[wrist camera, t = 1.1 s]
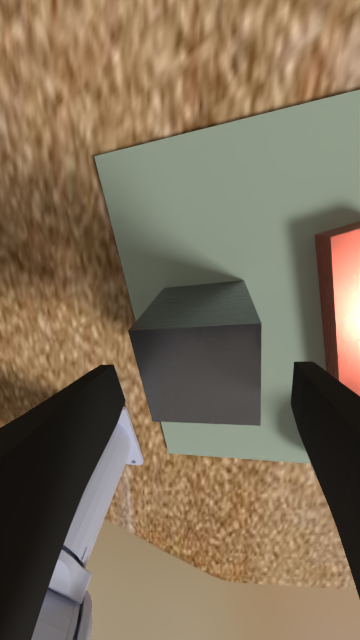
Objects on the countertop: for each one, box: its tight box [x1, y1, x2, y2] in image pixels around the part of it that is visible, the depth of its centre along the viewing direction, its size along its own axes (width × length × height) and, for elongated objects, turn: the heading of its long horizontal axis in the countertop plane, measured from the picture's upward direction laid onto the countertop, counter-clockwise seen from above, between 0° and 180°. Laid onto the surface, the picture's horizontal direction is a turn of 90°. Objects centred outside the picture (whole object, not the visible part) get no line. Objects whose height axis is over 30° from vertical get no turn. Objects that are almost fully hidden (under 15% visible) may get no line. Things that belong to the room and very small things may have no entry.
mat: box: [94, 90, 360, 463], centre depth 14 cm, size 20×24×1 cm
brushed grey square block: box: [128, 280, 262, 426], centre depth 12 cm, size 5×5×6 cm
